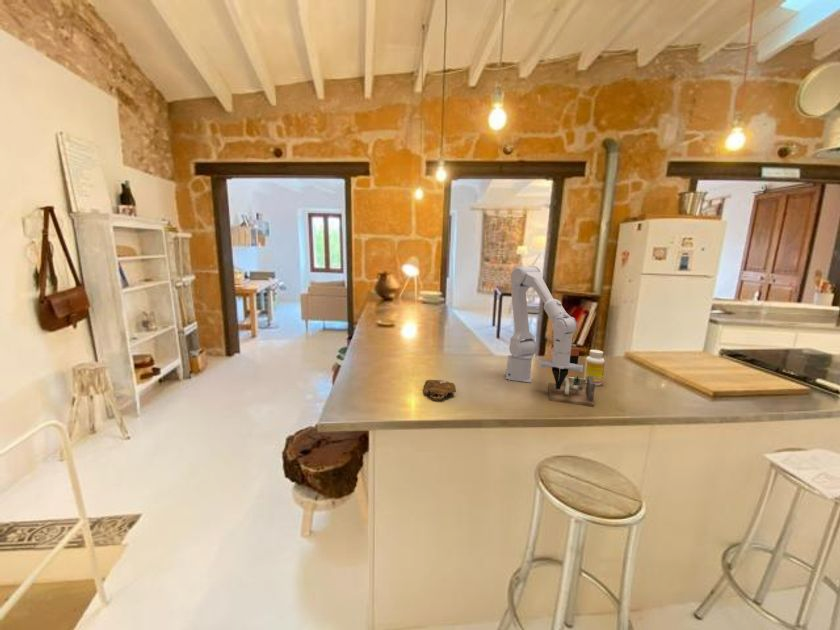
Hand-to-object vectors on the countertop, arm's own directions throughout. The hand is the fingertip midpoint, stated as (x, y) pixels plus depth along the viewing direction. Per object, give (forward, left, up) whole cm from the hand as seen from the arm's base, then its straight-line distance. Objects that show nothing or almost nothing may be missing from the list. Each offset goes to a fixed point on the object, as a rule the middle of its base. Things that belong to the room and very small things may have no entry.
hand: (557, 388), depth 134 cm
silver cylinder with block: (+5, +2, -1) cm, 5 cm away
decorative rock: (-39, -15, -3) cm, 42 cm away
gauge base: (+4, +1, -2) cm, 5 cm away
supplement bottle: (+14, +18, -3) cm, 23 cm away
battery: (+6, +36, -3) cm, 36 cm away
